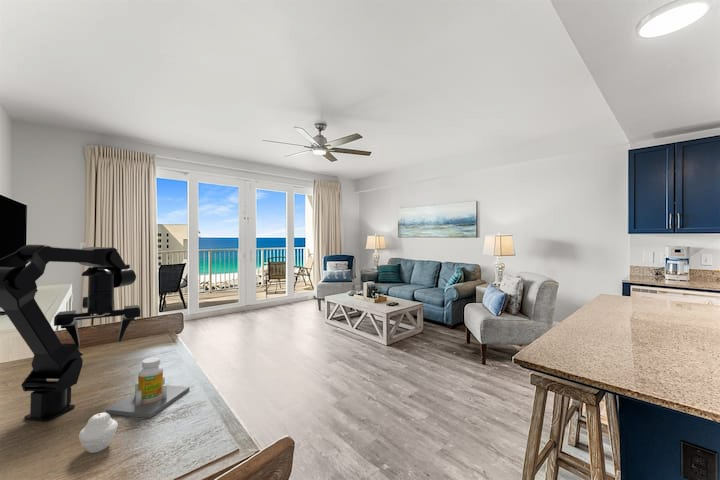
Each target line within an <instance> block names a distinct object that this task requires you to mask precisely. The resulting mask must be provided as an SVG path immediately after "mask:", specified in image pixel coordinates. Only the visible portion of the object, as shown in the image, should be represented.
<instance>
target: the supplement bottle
mask: <svg viewBox="0 0 720 480" xmlns="http://www.w3.org/2000/svg"><path fill="white" fill-rule="evenodd" d="M160 364H161V358H160V357H157V356H155V357H148V358H144V359H143V360H142V361H141V367H142V368H140V369H139V371H138V380H137V382H138V390H142V400H141V401H151V400H154V399H156V398H158V397H160V396H161V395H162V385H163V377H164V367H163V366H162V365H160Z"/></svg>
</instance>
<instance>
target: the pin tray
mask: <svg viewBox="0 0 720 480" xmlns="http://www.w3.org/2000/svg"><path fill="white" fill-rule="evenodd" d="M165 381H166V377H165V376H163V385H162V395H161V396H160V397H158V398H156V399H154V400H151V401H141V400H142V390H138V381H137V382H135V383H134V393H132V394H131V395H129V396H126V397H125V398H123V399H121V400H120V401H118V402H116V403H114V404H113V405H111V406H109V407H107V408H105V413H108V414H109V415H116V416H126V417H135V418H144V419H151V418H153V417H154V416H155V415H157V414H158V413H160V412H161V411H163V410H164V409H165V408H167V407H168V406H169V405H171V404H173V403H174V402H176V401H177V400H178V399H180V398H181V397H182V396H184V395H185V394H187V393H188V392H189V391H190V386H183V385H181V386H180V385H171V384H169V385H168V384H167V383H166V382H165Z"/></svg>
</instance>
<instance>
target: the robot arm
mask: <svg viewBox="0 0 720 480" xmlns="http://www.w3.org/2000/svg"><path fill="white" fill-rule="evenodd" d="M49 262H53V263H54V262H55V263H56V262H57V263H59V262H61V263H76V264H79V265H82V266H86V267H88V268H87V269H86V270H85V271H83V272H82V273H81V276H82V277H88V279H87V280H88V281H87V296H82V309H84V310H85V309H87V311H86V312H80V313H79V312H78V313H77V310H64V311H59V312H57V313H56V315H55V316H54V319H53V326H54V327H60V329H65V330H66V331H67V332H68V334H69V335H70V336H71V338H72V340H73V343H62V341H60V338H59V337H58V335H57V334H56V332H55V330H54V329H53V327H52V325H51V323H50V322H49V320H48V319H47V317H46V316H45V314H44V312H43V311H42V309H41V307H40V306H39V304H38V303H37V300H35V296H36V293H37V289H38V285H37V282H36V281H38V279H39V278H40V277H42V275H44V274H45V270H46V266H47V264H49ZM23 266H25V267H23ZM136 280H137V274H136V272H135V271H134V269H133V268H131V264H126V263H125V262H124V260H123V258H122V257H121V254H120V253H119V252H118V249H117V248H116V247H111V246H110V247H109V246H107V247H106V246H105V247H103V246H88V247H87V246H86V247H82V248H76V247H75V248H74V247H63V246H52V245H51V246H50V245H48V244H26V245H23V246H21V247H19V248H18V249H17V250H16V251H14V252H12V253H10V254H8V255H6V256H4V257H1V258H0V308H1V309H2V310H3V311H4V313H5V315H6V316H7V317H8V318H9V320H10V321H11V323H12V325H13V326H14V328H15V329H16V330H17V332H18V334H19V335H20V336H21V337H22V340H23V341H24V342H25V343H26V345H27V346H28V348H29V349H30V351H31V352H32V354H33V358H32V361H31V367H32V370H31V371H30V373H29V374H28V375H27V377H26V378H24V381H23V382H22V383H21V388H22V390H23V392H30V405H29V406H30V408H29V409H30V410H29V412H30V413H29V414H26V415H24V417H23V418H24V419H25V420H32V421H34V420H35V421H41V422H48V421H50V420H53V419H54V418H56V417H58V416H60V415H62V414H64V413H66V412H68V411H70V410H72V409H74V408H76V404H71V403H72V387H74V386H75V385H76V384H77V383H78V381H79V378H80V376H81V371H82V367H83V363H84V360H83V357H82V356H84V354H83V353H82V352H80V350H79V348H80V334H79V328H78V327H79V326H78V321H81V320H91V319H92V320H93V319H102V318H111V317H120V316H121V317H122V318H121V322H120V323H121V324H120V328H119V335H118V342H119V343H121V342H122V339H123V338H124V335H125V332H126V330H127V328H128V326H129V325H130V323H131V322H132V321H133V322H134V321H136V318H141V307H140V305H138V304H134V305H132V304H131V305H124V306H123V308H121V309H115V308H114V305H115V304H114V302H115V300H114V293H115V291H114V290H115V289H117V288H121V287H122V288H123V287H126V286H130V285H133V284H134V283H135V281H136ZM114 288H115V289H114Z"/></svg>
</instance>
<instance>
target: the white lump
mask: <svg viewBox="0 0 720 480" xmlns="http://www.w3.org/2000/svg"><path fill="white" fill-rule="evenodd" d="M118 426H119V424H118V421H117V420H116V419H112V417H111V414H108V413H106V412H100V413H96V414H94V415H92V416H91V417H90V418H89V419H88V420H87V423H86V425H85V426H84V427H83V428H82V429H81V430H80V432H79V434H78V440H79V441H80V444H81V445H82V446H83V447H84V448H85V450H86V451H87V452H88V453H90V454H93V453H99V452H101V451H104V450H106V448H108V446H109V445H110V443H111V441H112V439H113V437H115V435H116V431H117V429H118Z"/></svg>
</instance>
